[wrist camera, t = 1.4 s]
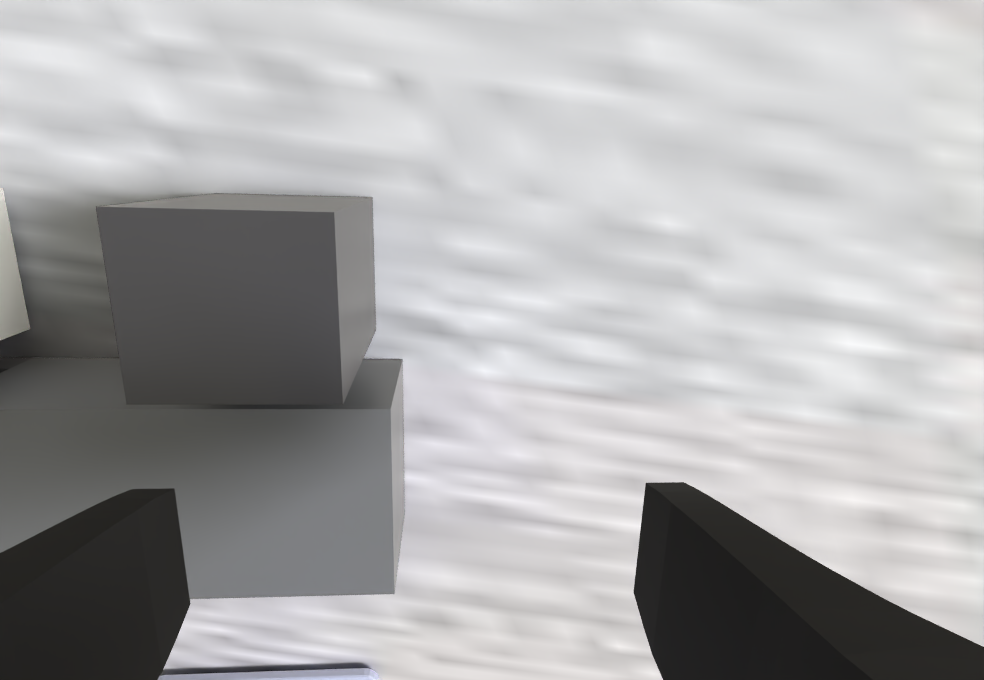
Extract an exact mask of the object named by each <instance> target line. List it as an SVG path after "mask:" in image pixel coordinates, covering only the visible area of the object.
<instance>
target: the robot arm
mask: <svg viewBox="0 0 984 680" xmlns="http://www.w3.org/2000/svg"><path fill="white" fill-rule="evenodd" d="M634 595H635V598H636V602H637V605H638V609H639V612H640V616H641V619H642V623H643V626H644V629H645V633H646V636H647V639H648V642H649V645H650V648H651V652H652V655H653V657H654V659H655V662H656V664H657V666H658V669H659V671H660V673H661V676H662V678H663V680H984V647H983V646H980V645H978V644H976V643H974V642H972V641H970V640H968V639H965V638H963V637H961V636H959V635H957V634H955V633H953V632H951V631H949V630H947V629H944V628H942V627H940V626H938V625H936V624H934V623H932V622H930V621H928V620H926V619H923V618H921V617H919V616H917V615H915V614H913V613H911V612H909V611H907V610H905V609H903V608H901V607H899V606H897V605H895V604H893V603H891V602H889V601H887V600H885V599H884V598H882V597H880V596H878V595H876V594H874V593H872V592H871V591H869V590H867V589H865V588H863V587H862V586H860V585H858V584H856V583H854V582H852V581H851V580H849V579H847V578H845V577H843V576H841V575H840V574H838V573H836V572H834V571H832V570H831V569H829V568H827V567H825V566H824V565H822V564H820V563H819V562H817V561H815V560H813V559H812V558H810V557H808V556H806V555H805V554H803V553H801V552H800V551H798V550H796V549H795V548H793V547H791V546H790V545H788V544H786V543H785V542H783V541H781V540H780V539H778V538H777V537H775V536H773V535H772V534H770V533H768V532H767V531H765V530H764V529H762V528H760V527H759V526H757V525H755V524H754V523H752V522H751V521H749V520H747V519H746V518H744V517H743V516H741V515H739V514H738V513H736V512H734V511H733V510H731V509H730V508H728V507H726V506H725V505H723V504H721V503H720V502H718V501H716V500H715V499H713V498H711V497H710V496H708V495H706V494H705V493H703V492H701V491H699V490H698V489H696V488H694V487H692V486H690V485H688V484H686V483H684V482H679V483H646V487H645V496H644V505H643V514H642V523H641V531H640V540H639V549H638V558H637V567H636V576H635V585H634ZM189 606H190V598H189V590H188V583H187V576H186V568H185V561H184V554H183V546H182V539H181V532H180V525H179V517H178V510H177V503H176V495H175V488H169V489H131V490H128V491H126V492H123V493H121V494H118V495H116V496H113V497H111V498H109V499H107V500H105V501H102V502H100V503H98V504H96V505H94V506H92V507H90V508H88V509H86V510H84V511H82V512H80V513H78V514H76V515H74V516H72V517H70V518H68V519H66V520H64V521H62V522H60V523H58V524H56V525H54V526H52V527H50V528H48V529H46V530H44V531H42V532H40V533H38V534H37V535H35V536H33V537H31V538H29V539H27V540H25V541H23V542H21V543H19V544H17V545H15V546H13V547H11V548H9V549H7V550H5V551H3V552H1V553H0V680H379V676H378V674H377V673H376V672H375V671H374V670H372V669H369V668H352V669H323V670H294V671H264V672H235V673H206V674H177V675H162V676H160V674H161V672H162V671H163V668H164V666H165V664H166V661H167V659H168V657H169V655H170V652H171V650H172V648H173V645H174V643H175V641H176V638H177V636H178V633H179V631H180V628H181V626H182V623H183V621H184V618H185V616H186V613H187V611H188V608H189Z"/></svg>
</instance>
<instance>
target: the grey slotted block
mask: <svg viewBox="0 0 984 680" xmlns="http://www.w3.org/2000/svg"><path fill="white" fill-rule="evenodd" d="M96 211H97V217H98V224H99V230H100V237H101V243H102V250H103V256H104V262H105V269H106V275H107V282H108V288H109V295H110V301H111V308H112V314H113V321H114V327H115V334H116V340H117V347H118V353H119V358H23V357H0V553H1V552H3V551H5V550H7V549H9V548H11V547H13V546H15V545H17V544H19V543H21V542H23V541H25V540H27V539H29V538H31V537H33V536H35V535H37V534H38V533H40V532H42V531H44V530H46V529H48V528H50V527H52V526H54V525H56V524H58V523H60V522H62V521H64V520H66V519H68V518H70V517H72V516H74V515H76V514H78V513H80V512H82V511H84V510H86V509H88V508H90V507H92V506H94V505H96V504H98V503H100V502H102V501H105V500H107V499H109V498H111V497H113V496H116V495H118V494H121V493H123V492H126V491H128V490H131V489H169V488H175V495H176V503H177V510H178V517H179V525H180V532H181V539H182V546H183V554H184V561H185V568H186V576H187V583H188V590H189V598H190V599H210V598H250V597H291V596H331V595H371V594H395V586H396V578H397V570H398V562H399V554H400V546H401V538H402V531H403V523H404V515H405V496H404V427H403V359H363V358H364V356H365V354H366V351H367V349H368V347H369V345H370V342H371V340H372V338H373V336H374V333H375V331H376V311H375V274H374V237H373V200H372V197H342V196H303V195H264V194H224V193H214V194H205V195H196V196H187V197H178V198H169V199H160V200H151V201H142V202H133V203H124V204H115V205H106V206H97V207H96Z"/></svg>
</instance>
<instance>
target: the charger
mask: <svg viewBox="0 0 984 680" xmlns="http://www.w3.org/2000/svg"><path fill="white" fill-rule="evenodd" d="M29 329H30V325H29V320H28V315H27V309H26V304H25V299H24V294H23V289H22V284H21V279H20V274H19V269H18V263H17V258H16V253H15V248H14V243H13V238H12V233H11V228H10V223H9V217H8V212H7V207H6V202H5V197H4V192H3V188H0V340H3V339H5V338H8V337H11V336H13V335H16V334H18V333H21V332H23V331H26V330H29Z"/></svg>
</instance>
